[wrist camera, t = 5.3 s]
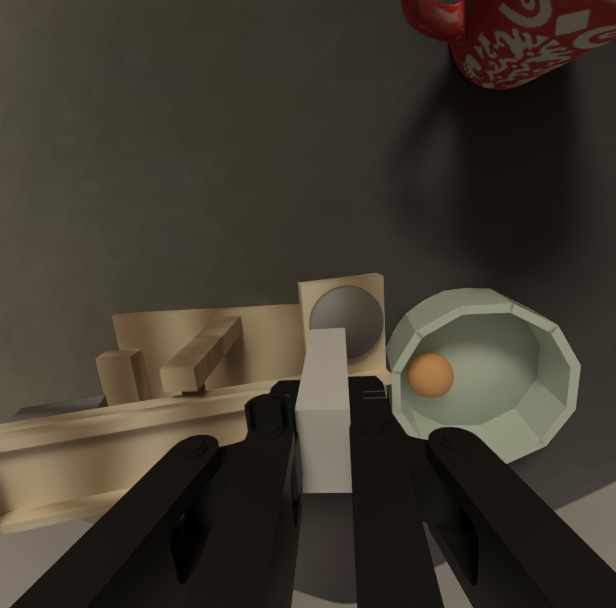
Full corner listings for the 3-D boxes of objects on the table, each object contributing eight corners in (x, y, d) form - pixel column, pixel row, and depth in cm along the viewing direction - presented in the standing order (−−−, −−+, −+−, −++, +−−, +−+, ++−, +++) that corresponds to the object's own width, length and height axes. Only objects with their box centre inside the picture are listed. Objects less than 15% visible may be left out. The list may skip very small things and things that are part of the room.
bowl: (387, 428, 33) (393, 466, 28) (382, 292, 30) (389, 309, 25) (536, 426, 31) (568, 465, 27) (548, 282, 28) (588, 299, 24)
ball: (463, 401, 28) (436, 381, 31) (464, 358, 27) (436, 342, 30) (422, 411, 27) (398, 389, 30) (422, 367, 26) (398, 350, 29)
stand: (132, 426, 35) (46, 519, 25) (106, 314, 32) (-4, 367, 22) (313, 423, 33) (298, 522, 23) (302, 303, 30) (281, 356, 20)
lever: (27, 482, 25) (-31, 561, 20) (-29, 311, 22) (-119, 347, 16) (367, 418, 29) (400, 469, 24) (361, 265, 26) (397, 282, 20)
